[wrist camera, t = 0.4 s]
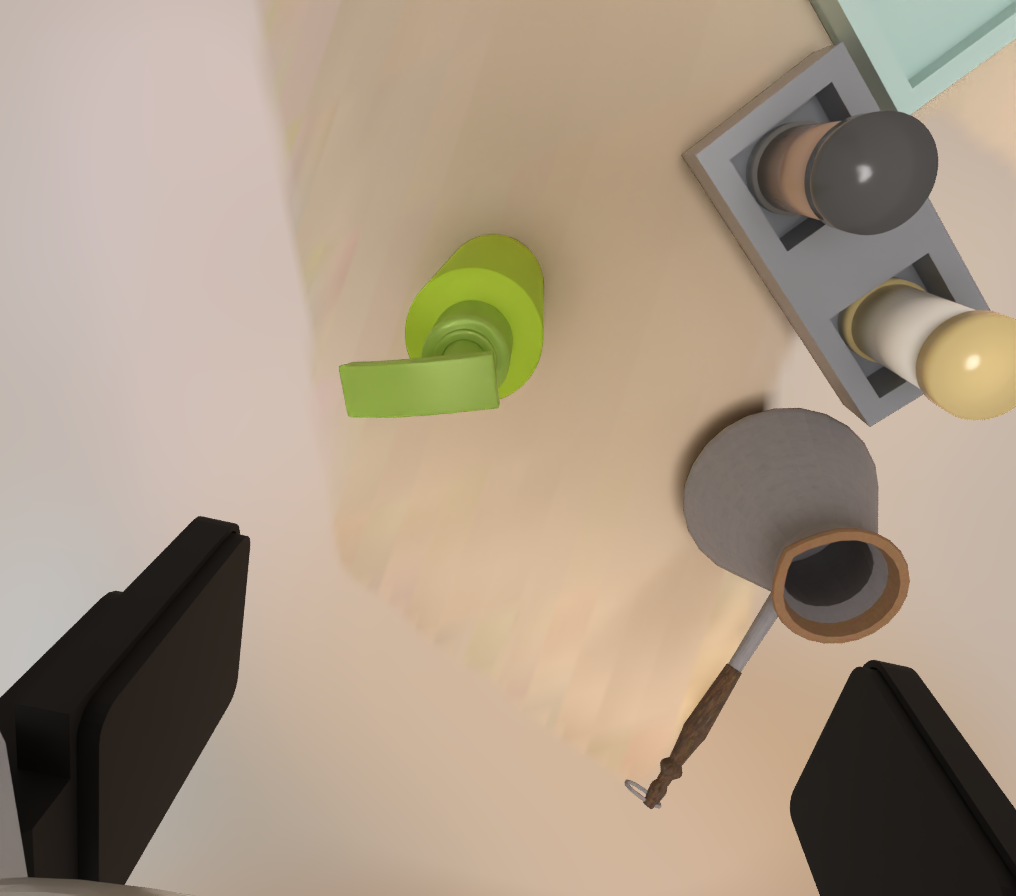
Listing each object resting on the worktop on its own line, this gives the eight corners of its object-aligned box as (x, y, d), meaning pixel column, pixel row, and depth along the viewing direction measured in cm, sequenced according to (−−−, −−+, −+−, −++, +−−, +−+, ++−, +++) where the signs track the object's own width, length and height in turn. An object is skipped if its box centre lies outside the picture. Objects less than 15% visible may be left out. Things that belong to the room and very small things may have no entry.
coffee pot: (760, 357, 44) (860, 452, 30) (897, 460, 46) (1050, 594, 32) (549, 597, 51) (551, 764, 37) (676, 677, 53) (723, 864, 39)
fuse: (822, 309, 41) (912, 360, 31) (897, 259, 40) (1016, 294, 30) (861, 371, 43) (960, 439, 33) (935, 324, 41) (1062, 379, 31)
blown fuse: (729, 161, 39) (795, 163, 29) (806, 102, 38) (904, 83, 27) (773, 231, 40) (852, 258, 30) (850, 177, 39) (958, 185, 29)
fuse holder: (681, 155, 40) (695, 155, 36) (813, 52, 38) (842, 41, 34) (842, 404, 45) (869, 427, 41) (967, 325, 42) (1007, 342, 39)
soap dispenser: (420, 241, 42) (322, 310, 24) (539, 229, 42) (534, 290, 23) (434, 340, 44) (354, 474, 26) (547, 330, 44) (549, 460, 25)
